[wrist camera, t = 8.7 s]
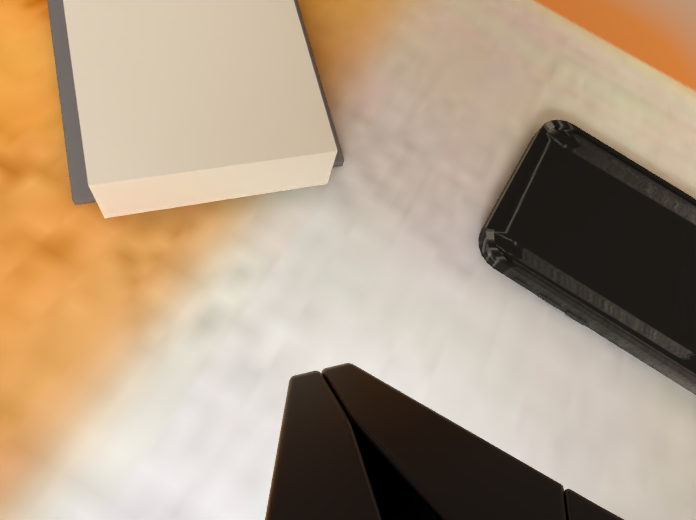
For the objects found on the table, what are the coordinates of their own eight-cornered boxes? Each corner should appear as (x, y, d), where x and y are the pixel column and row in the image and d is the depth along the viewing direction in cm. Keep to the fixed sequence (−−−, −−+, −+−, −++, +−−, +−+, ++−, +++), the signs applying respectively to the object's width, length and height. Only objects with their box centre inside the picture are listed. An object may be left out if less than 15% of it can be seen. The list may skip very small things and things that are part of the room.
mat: (342, 165, 23) (343, 160, 23) (75, 204, 20) (72, 199, 20) (281, -43, 26) (282, -50, 26) (45, -32, 24) (42, -40, 23)
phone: (550, 110, 25) (852, 294, 24) (538, 125, 26) (827, 302, 25) (474, 247, 22) (817, 462, 21) (464, 258, 23) (791, 463, 22)
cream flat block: (337, 150, 20) (273, -68, 23) (88, 185, 18) (54, -60, 21) (326, 187, 22) (270, -14, 25) (106, 221, 20) (74, -2, 23)
